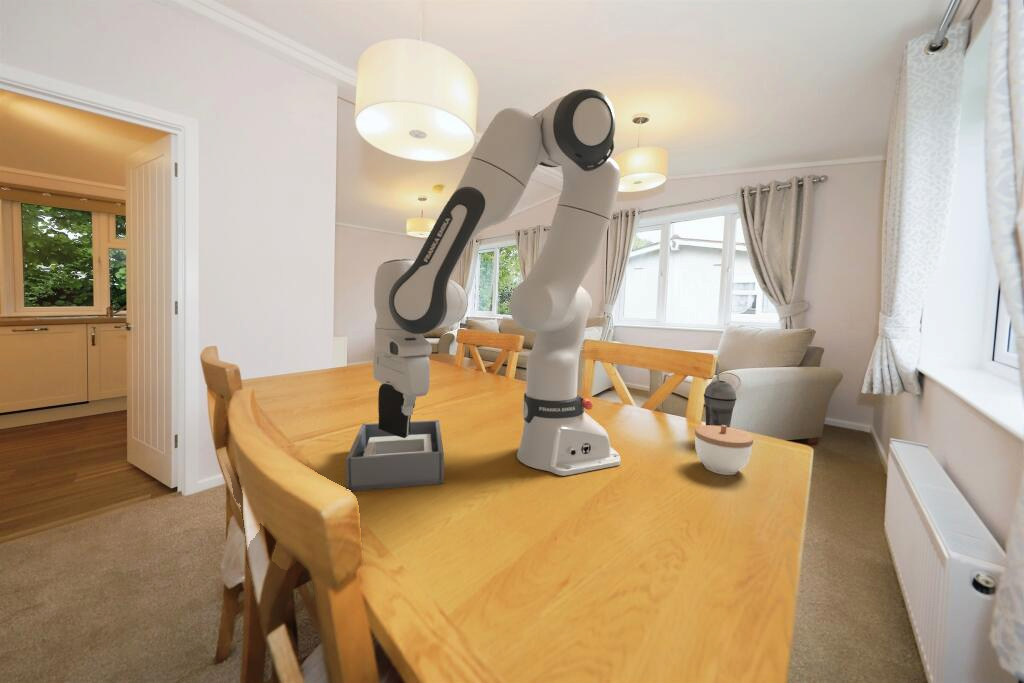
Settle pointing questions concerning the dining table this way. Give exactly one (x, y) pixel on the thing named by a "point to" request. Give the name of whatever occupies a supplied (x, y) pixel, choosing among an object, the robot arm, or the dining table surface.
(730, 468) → the lidded jar
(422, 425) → the socket box
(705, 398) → the beverage cup
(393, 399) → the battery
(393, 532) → the dining table surface
